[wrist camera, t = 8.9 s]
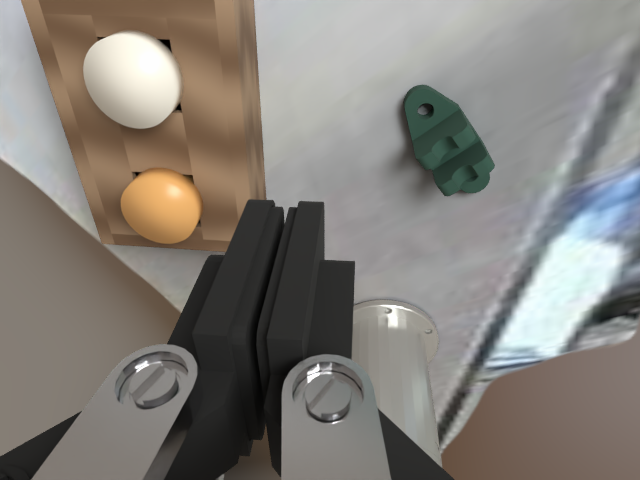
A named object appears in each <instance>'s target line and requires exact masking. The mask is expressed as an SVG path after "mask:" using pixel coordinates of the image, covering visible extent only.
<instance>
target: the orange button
mask: <svg viewBox="0 0 640 480" xmlns="http://www.w3.org/2000/svg"><path fill="white" fill-rule="evenodd" d="M121 210H122V213H123V216H124V218H125V220H126V221H127V223H128V224H129V225H130V226H131V227H132V228H133V229H134V230H135V231H136V232H137V233H138V234H140V235H141V236H143V237H145V238H147V239H149V240H151V241H154V242H158V243H164V244H172V243H178V242H181V241H183V240H185V239H186V238H188V237H189V236H190V235H191V234H192V232H193V231H194V229H195V227H196V225H197V223H198V222H199V220H200V218H201V216H202V213H203V200H202V197H201V194H200V192H199V190H198V189H197V187H196V186H195V185H194V181H193V175H185V174H181V173H179V172H177V171H174V170H171V169H167V168H150V169H147V170H145V171H143V172H141V173H140V174H139V175H138V176H137V177H136V178H135V179H134V180H133V181H132V182H131V183H130V184H129V186H128V187H127V188H126V189H125V190H124V192H123V194H122V197H121Z"/></svg>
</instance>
